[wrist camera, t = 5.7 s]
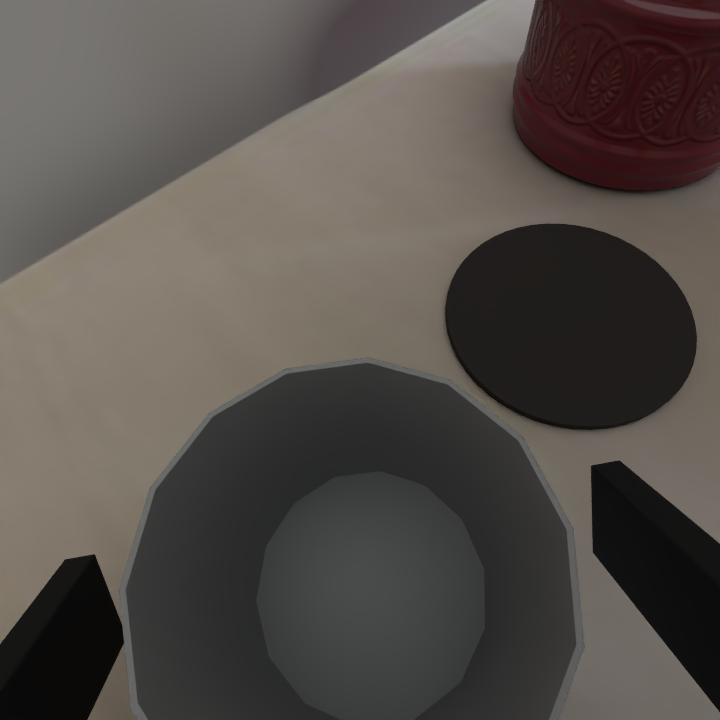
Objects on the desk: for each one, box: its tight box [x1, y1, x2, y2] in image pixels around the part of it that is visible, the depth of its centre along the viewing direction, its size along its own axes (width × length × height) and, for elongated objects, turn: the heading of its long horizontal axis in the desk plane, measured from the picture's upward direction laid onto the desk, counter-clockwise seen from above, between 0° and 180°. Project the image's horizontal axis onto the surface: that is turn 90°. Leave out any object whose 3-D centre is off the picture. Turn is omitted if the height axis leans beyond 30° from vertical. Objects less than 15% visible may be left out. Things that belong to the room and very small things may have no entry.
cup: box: [119, 358, 584, 720], centre depth 13 cm, size 8×8×10 cm
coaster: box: [446, 224, 697, 430], centre depth 22 cm, size 11×11×1 cm
